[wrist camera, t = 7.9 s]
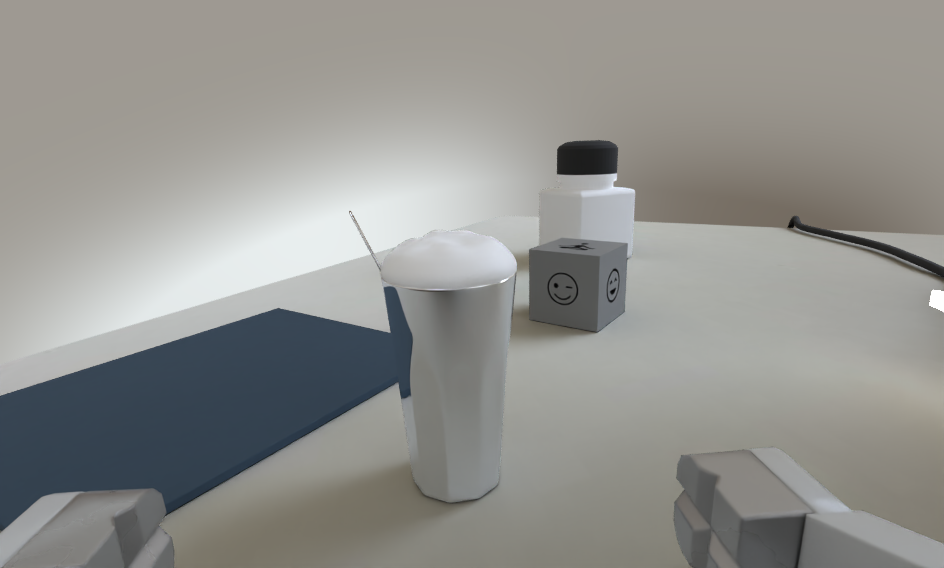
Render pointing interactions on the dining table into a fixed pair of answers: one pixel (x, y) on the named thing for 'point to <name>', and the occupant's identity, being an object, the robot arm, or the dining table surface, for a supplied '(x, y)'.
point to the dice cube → (577, 282)
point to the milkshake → (451, 355)
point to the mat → (186, 409)
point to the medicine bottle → (587, 197)
